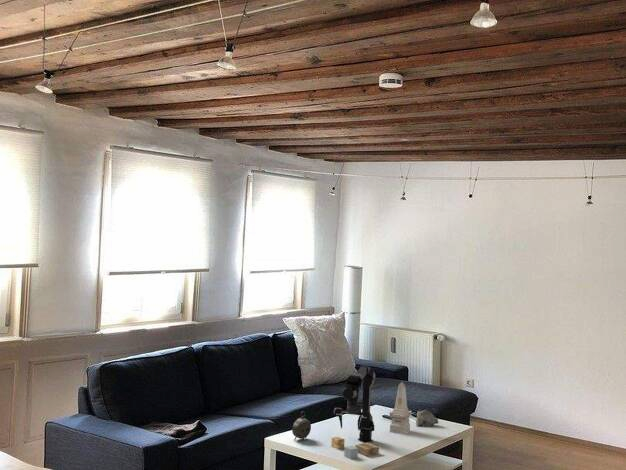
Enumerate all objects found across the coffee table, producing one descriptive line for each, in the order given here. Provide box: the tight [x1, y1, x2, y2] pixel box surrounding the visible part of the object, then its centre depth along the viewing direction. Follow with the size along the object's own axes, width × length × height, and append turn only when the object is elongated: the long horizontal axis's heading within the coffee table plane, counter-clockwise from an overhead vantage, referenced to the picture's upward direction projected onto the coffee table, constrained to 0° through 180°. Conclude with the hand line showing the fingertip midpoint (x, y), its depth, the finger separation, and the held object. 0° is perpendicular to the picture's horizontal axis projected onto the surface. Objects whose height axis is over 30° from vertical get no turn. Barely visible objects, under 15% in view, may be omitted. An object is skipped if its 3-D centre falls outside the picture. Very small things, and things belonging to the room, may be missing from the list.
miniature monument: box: [389, 381, 412, 435], centre depth 406 cm, size 10×10×30 cm
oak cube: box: [330, 436, 345, 450], centre depth 370 cm, size 5×5×5 cm
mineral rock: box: [415, 409, 440, 427], centre depth 421 cm, size 13×11×10 cm
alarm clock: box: [291, 410, 312, 442], centre depth 380 cm, size 11×5×16 cm, turn 131°
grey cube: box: [343, 445, 359, 460], centre depth 354 cm, size 5×5×5 cm
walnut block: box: [354, 442, 380, 457], centre depth 362 cm, size 9×9×4 cm
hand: (350, 429), depth 355 cm, fingers open, 9 cm apart
